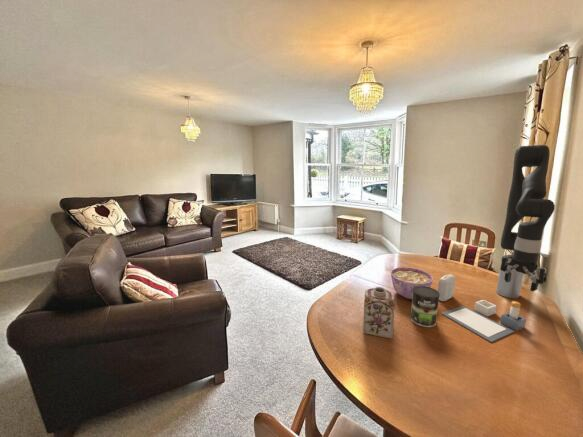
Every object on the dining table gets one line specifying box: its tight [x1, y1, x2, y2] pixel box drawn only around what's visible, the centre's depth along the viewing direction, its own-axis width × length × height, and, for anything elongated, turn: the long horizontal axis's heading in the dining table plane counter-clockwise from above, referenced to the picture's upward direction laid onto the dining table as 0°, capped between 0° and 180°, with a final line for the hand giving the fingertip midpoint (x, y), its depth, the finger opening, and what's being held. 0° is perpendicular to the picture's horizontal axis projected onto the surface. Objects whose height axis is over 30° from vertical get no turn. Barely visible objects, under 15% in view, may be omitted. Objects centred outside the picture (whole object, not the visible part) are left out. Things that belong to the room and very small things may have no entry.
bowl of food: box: [390, 266, 434, 300], centre depth 132 cm, size 20×20×12 cm
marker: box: [509, 300, 522, 321], centre depth 107 cm, size 3×3×10 cm
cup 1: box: [473, 299, 497, 318], centre depth 117 cm, size 6×6×4 cm
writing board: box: [441, 305, 515, 343], centre depth 110 cm, size 15×21×1 cm
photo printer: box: [437, 273, 456, 302], centre depth 129 cm, size 10×4×12 cm, turn 123°
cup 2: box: [499, 311, 527, 332], centre depth 107 cm, size 6×6×4 cm
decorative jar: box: [362, 286, 396, 339], centre depth 106 cm, size 12×12×18 cm
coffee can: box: [410, 286, 440, 328], centre depth 111 cm, size 10×10×14 cm
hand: (519, 286), depth 104 cm, fingers open, 8 cm apart
